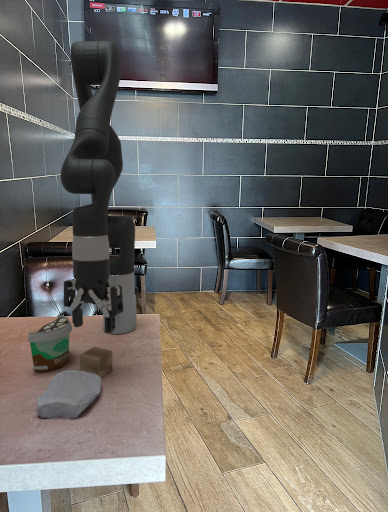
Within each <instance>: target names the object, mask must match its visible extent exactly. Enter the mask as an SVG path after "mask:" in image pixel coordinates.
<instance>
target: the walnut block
mask: <svg viewBox="0 0 388 512" xmlns="http://www.w3.org/2000/svg"><path fill="white" fill-rule="evenodd" d="M78 358H79V371H85V372H89V373H94V374H96V375H98V376H99V377H101V380H102V379H103V378H105V377H106V376H107V375H109V374H110V373H111V372H113V350H111V349H106V348H102V347H98V346H93V347H91V348H90V349H88V350H86V351H85V352H82V353H81V354H79V355H78Z"/></svg>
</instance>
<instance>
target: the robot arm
mask: <svg viewBox="0 0 388 512" xmlns="http://www.w3.org/2000/svg"><path fill="white" fill-rule="evenodd" d="M69 52H70V53H69V54H70V56H69V58H70V65H71V70H72V71H71V73H72V76H73V81H74V82H73V83H74V87H75V93H76V97H77V102H78V103H77V104H78V108H79V112H78V115H77V117H76V122H75V129H74V139H73V143H72V145H71V147H70V149H69V151H68V153H67V155H66V157H65V159H64V161H63V163H62V166H61V169H60V181H61V185H62V187H63V188H64V190H65V191H67V193H70V194H73V195H91V203H90V204H85V205H80V206H77V207H74V208H73V210H72V212H71V215H72V216H71V220H72V224H71V225H72V243H71V245H72V246H71V253H72V254H71V255H72V277H73V278H70V279H67V280H64V281H63V306H64V307H65V308H69V309H70V311H71V315H72V316H71V319H72V320H71V323H72V324H73V327H74V328H80V327H81V326H82V327H83V324H84V317H83V308H82V307H83V306H84V304H91V305H96V306H97V308H98V310H99V309H100V310H101V311H102V323H103V324H102V327H103V331H104V333H105V334H107V335H110V334H113V335H121V334H127V333H130V332H132V331H134V330H135V328H136V325H138V324H137V295H136V294H135V291H136V290H135V258H136V257H135V254H136V253H135V249H136V248H135V247H136V246H135V245H136V226H135V221H134V219H133V218H132V217H131V216H129V215H110V214H109V206H110V205H109V204H110V200H111V197H112V193H113V190H114V188H115V187H116V184H117V182H118V181H119V179H120V177H121V174H122V172H123V168H124V164H123V163H124V162H123V161H124V159H123V154H122V153H123V152H122V142H121V140H120V138H119V136H118V134H117V133H116V131H115V129H114V128H113V127H112V126H111V119H112V114H113V110H114V105H115V103H116V99H117V96H118V95H117V93H118V90H119V86H120V82H121V74H122V61H121V57H120V51H119V49H118V47H117V45H116V43H114V42H113V41H107V40H92V41H91V40H89V41H86V40H83V41H82V40H81V41H74V42H72V44H71V45H70V51H69ZM91 86H98V88H97V90H96V91H95V92H94V93H93V91H92V87H91ZM110 249H117V250H119V254H118V255H117V256H115V257H113V258H110ZM76 292H77V293H76Z"/></svg>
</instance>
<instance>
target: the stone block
mask: <svg viewBox="0 0 388 512" xmlns="http://www.w3.org/2000/svg"><path fill="white" fill-rule="evenodd" d="M101 387H102V379H101V377H99V376H98V375H96V374H94V373H89V372H85V371H80V370H75V369H70V370H62V371H60V372H58V373H56V374H55V376H54V377H53V378H52V380H51V381H50V383H49V385H48V387H47V389H46V391H44V392H43V393H42V394H41V395H39V397H38V398H37V401H36V406H37V407H36V413H37V415H38V417H40V419H57V418H64V419H77V418H78V417H79V416H80V415H81V413H83V412H84V411H85V410H86V409H87V408H89V406H90V405H92V404H93V402H95V400H96V399H97V398H98V397H99V396H100V395H101Z"/></svg>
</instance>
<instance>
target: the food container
mask: <svg viewBox="0 0 388 512" xmlns="http://www.w3.org/2000/svg"><path fill="white" fill-rule="evenodd" d="M72 330H73V325H72V321H71V320H70V318H69V317H68V316H64V315H61V314H57V318H56V319H55V320H53V321H50V322H48V323H47V324H44V325H42V327H41V328H40V329H38V330H37V331H36V332H35V331H33V332H31V331H28V336H27V342H28V343H29V345H30V351H31V358H32V364H33V370H34V373H38V374H41V373H50V372H54V371H57V370H60V369H62V368H64V367H65V366H66V365H68V364H69V361H70V360H69V359H70V357H69V355H70V334H71V332H72Z"/></svg>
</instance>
